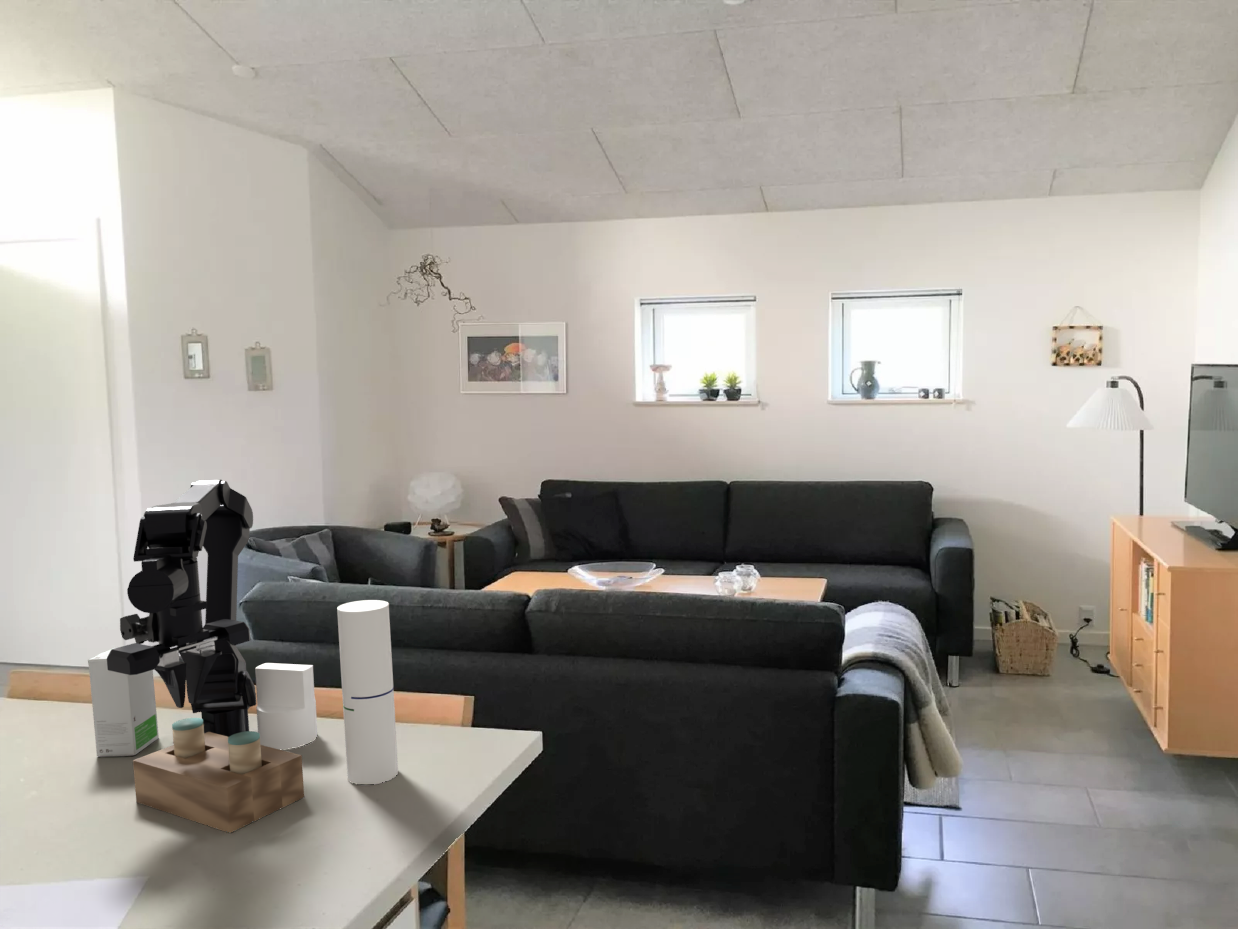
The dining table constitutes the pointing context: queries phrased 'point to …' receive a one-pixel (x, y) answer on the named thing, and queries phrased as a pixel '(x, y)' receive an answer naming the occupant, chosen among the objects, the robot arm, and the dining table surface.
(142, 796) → the socket block
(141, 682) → the skincare box
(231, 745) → the peg
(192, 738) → the peg
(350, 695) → the cylindrical container
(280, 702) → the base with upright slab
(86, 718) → the dining table surface
